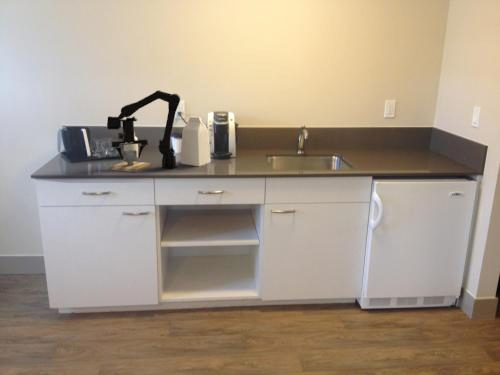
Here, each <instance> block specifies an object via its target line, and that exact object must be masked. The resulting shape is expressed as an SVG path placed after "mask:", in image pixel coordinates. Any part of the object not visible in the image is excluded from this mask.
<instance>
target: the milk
mask: <svg viewBox="0 0 500 375" xmlns="http://www.w3.org/2000/svg"><path fill="white" fill-rule="evenodd" d="M181 132H182V133H181V138H182V139H181V164H182V165H189V166H196V167H201V166H203V165H207V164H210V163H211V149H210V135H209V134H210V133H209V129H208V127H207V126H206V125H205V124H204V123H203V121H202V118H201V116H193V115H192V116H189V118H188V121H187V123H186V124H185V126H184V127H183V129H182V131H181Z"/></svg>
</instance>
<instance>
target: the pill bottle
mask: <svg viewBox="0 0 500 375" xmlns="http://www.w3.org/2000/svg"><path fill="white" fill-rule="evenodd" d="M134 139H135V140H138V139H139V138H138V137H137V136H136V132H135V131H134ZM125 143H127V142H125ZM130 143H133V142H130ZM125 150H136V151H137V158H138V144H128V145H123V151H125Z"/></svg>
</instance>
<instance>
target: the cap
mask: <svg viewBox="0 0 500 375" xmlns="http://www.w3.org/2000/svg"><path fill="white" fill-rule="evenodd" d="M122 155H123V156H122V160H123V161H125V162H138V157H137V151H136V150H125V151H124V150H122Z"/></svg>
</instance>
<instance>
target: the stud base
mask: <svg viewBox="0 0 500 375" xmlns="http://www.w3.org/2000/svg"><path fill="white" fill-rule="evenodd" d="M151 166H152V163H151V162H143V161H142V162H141V161H134V162H125V161H124V160H123V161H121V162H119V163H115V164H113V165H110V166H109V171H110V170H112V171H119V172H121V171H122V172H127V173H129V172H131V173H138V172H141V171H143V170H145V169H147V168H150V167H151Z"/></svg>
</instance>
